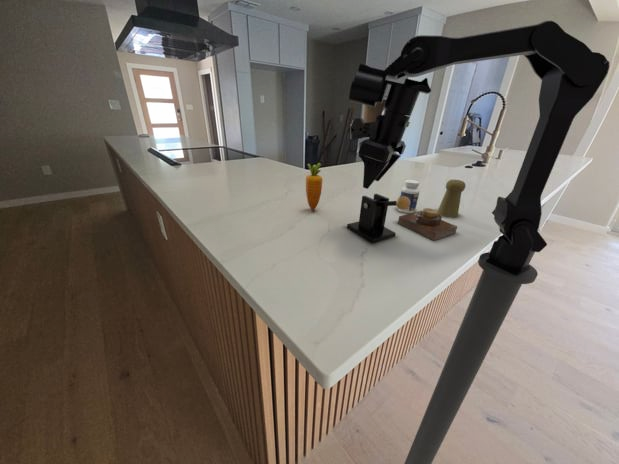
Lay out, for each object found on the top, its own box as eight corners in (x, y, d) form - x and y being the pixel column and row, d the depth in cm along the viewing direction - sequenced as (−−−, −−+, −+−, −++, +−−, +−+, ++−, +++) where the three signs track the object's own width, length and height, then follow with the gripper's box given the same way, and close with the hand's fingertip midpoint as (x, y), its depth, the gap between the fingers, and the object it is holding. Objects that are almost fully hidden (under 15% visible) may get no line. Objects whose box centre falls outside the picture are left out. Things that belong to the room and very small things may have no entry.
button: (438, 217, 69) (440, 211, 68) (429, 219, 67) (431, 213, 67) (427, 213, 72) (428, 207, 71) (418, 215, 70) (420, 209, 69)
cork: (442, 209, 85) (451, 176, 81) (460, 214, 81) (471, 181, 76) (433, 213, 82) (442, 179, 77) (452, 219, 78) (463, 184, 73)
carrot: (301, 210, 80) (302, 162, 74) (313, 206, 83) (315, 160, 77) (311, 214, 77) (313, 165, 70) (323, 211, 80) (326, 163, 73)
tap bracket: (395, 237, 66) (402, 201, 61) (371, 243, 62) (377, 206, 58) (368, 222, 73) (373, 189, 69) (346, 227, 70) (350, 193, 65)
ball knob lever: (413, 208, 56) (412, 194, 55) (404, 210, 54) (403, 196, 54) (375, 209, 66) (374, 197, 66) (366, 210, 65) (365, 199, 64)
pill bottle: (412, 215, 80) (419, 184, 76) (395, 211, 82) (401, 181, 78) (416, 209, 84) (423, 181, 80) (399, 206, 86) (405, 178, 82)
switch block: (455, 233, 69) (459, 220, 67) (433, 240, 64) (437, 226, 63) (418, 217, 78) (421, 205, 76) (397, 223, 74) (400, 210, 72)
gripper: (372, 106, 62) (353, 167, 70) (344, 100, 47) (324, 179, 55) (417, 118, 59) (392, 181, 66) (402, 115, 44) (372, 198, 51)
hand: (371, 184), depth 60 cm, fingers open, 9 cm apart
